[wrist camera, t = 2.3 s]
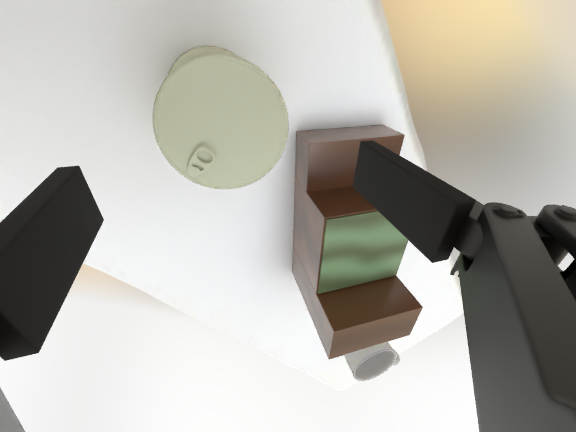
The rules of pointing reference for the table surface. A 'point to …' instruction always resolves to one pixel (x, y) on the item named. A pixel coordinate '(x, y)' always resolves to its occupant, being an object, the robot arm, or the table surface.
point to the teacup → (372, 361)
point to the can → (219, 119)
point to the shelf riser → (347, 245)
